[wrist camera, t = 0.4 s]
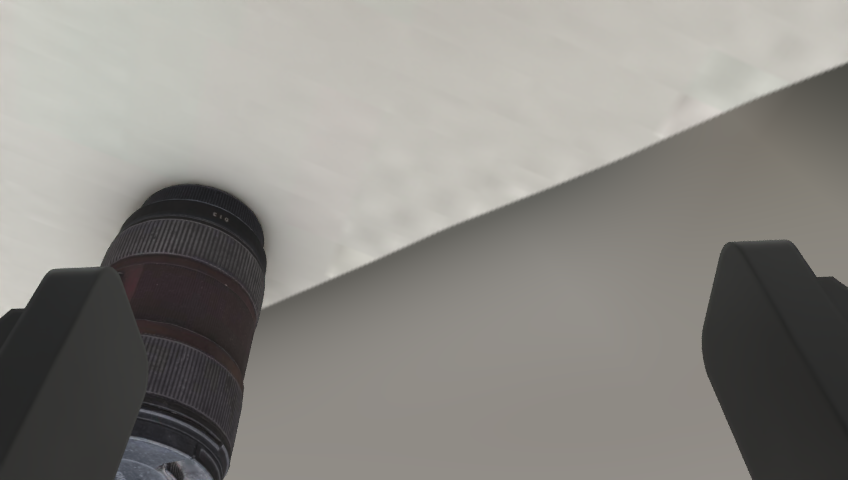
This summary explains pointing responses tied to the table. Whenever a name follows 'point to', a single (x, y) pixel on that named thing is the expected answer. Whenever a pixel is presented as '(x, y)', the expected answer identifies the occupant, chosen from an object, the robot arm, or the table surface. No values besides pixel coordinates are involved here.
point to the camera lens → (190, 326)
